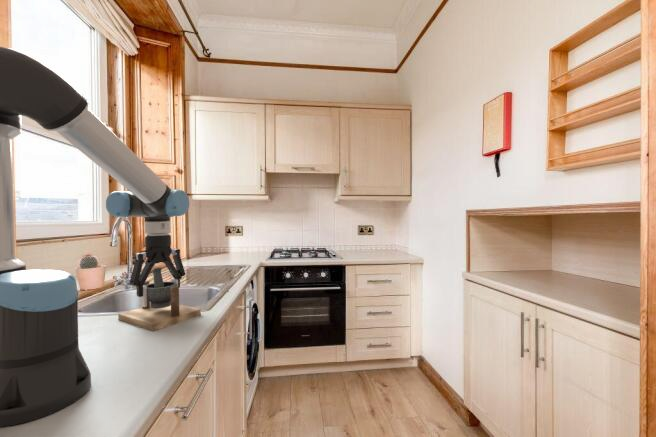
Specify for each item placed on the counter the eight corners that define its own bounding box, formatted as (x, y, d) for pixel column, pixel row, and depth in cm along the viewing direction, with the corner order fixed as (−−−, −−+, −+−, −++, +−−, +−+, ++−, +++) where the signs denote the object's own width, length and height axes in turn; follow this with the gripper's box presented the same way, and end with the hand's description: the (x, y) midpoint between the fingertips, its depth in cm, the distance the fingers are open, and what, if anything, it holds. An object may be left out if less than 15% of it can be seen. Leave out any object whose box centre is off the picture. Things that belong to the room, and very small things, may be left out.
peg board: (152, 331, 89) (151, 293, 89) (118, 319, 100) (117, 286, 99) (200, 315, 103) (199, 282, 103) (166, 306, 113) (165, 276, 113)
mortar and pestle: (180, 306, 100) (179, 269, 100) (148, 312, 94) (147, 273, 94) (171, 298, 109) (170, 265, 108) (141, 304, 103) (140, 268, 102)
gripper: (127, 237, 89) (129, 313, 90) (195, 232, 108) (197, 295, 109) (114, 236, 93) (116, 309, 94) (182, 232, 112) (184, 292, 113)
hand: (159, 301), depth 101 cm, fingers closed on mortar and pestle, 10 cm apart
